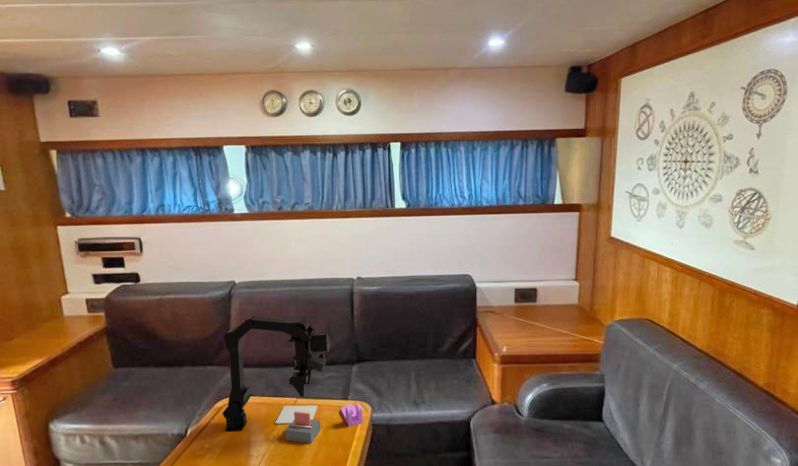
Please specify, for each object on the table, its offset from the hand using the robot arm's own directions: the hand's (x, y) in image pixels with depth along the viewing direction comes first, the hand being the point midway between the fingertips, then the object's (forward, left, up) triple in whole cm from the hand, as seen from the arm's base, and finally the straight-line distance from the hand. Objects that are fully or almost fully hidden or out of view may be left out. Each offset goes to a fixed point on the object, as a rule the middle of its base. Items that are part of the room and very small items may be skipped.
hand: (305, 390), depth 170 cm
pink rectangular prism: (0, -6, -15) cm, 16 cm away
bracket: (+16, +6, -15) cm, 23 cm away
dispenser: (0, -6, -15) cm, 16 cm away
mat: (-6, +7, -15) cm, 17 cm away
